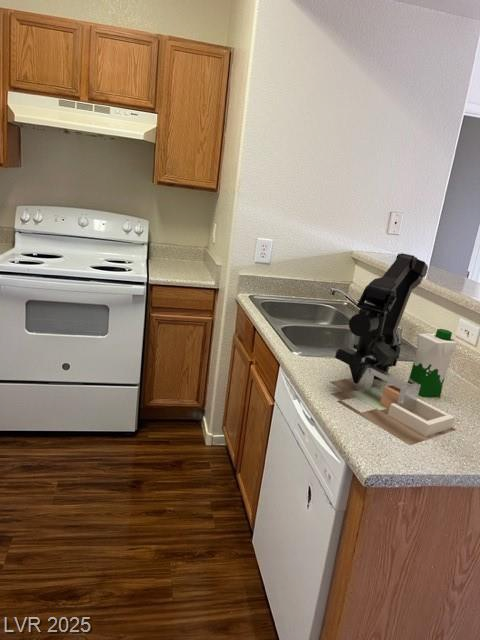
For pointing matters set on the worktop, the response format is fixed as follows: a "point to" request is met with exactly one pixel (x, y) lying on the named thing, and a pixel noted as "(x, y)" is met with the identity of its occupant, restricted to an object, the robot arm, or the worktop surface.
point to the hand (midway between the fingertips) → (359, 382)
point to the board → (381, 412)
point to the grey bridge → (407, 390)
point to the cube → (390, 396)
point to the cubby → (434, 425)
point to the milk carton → (432, 362)
